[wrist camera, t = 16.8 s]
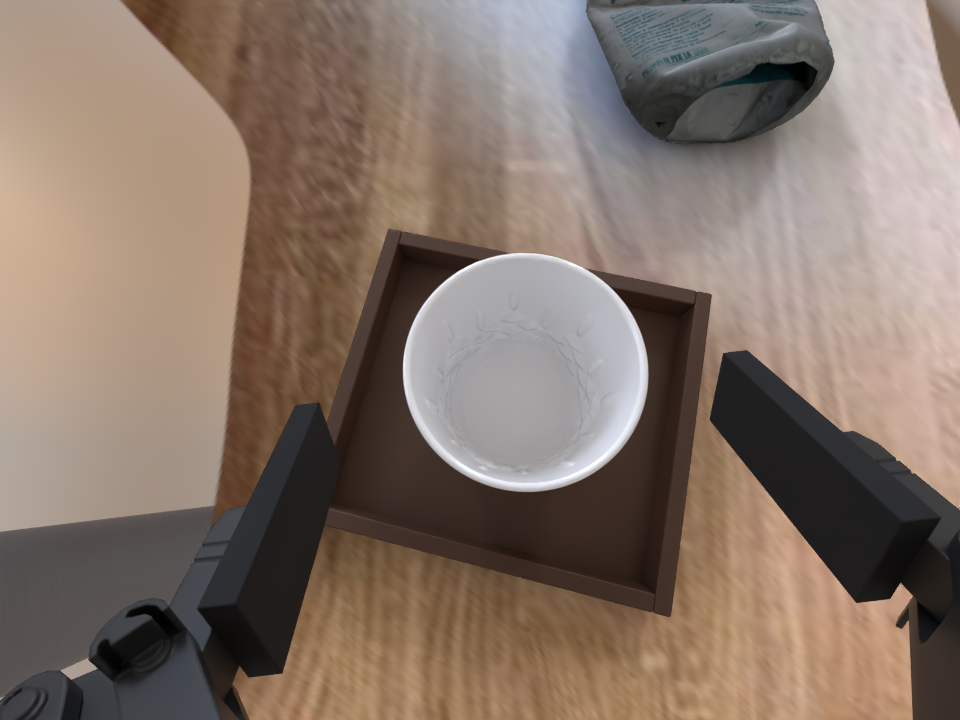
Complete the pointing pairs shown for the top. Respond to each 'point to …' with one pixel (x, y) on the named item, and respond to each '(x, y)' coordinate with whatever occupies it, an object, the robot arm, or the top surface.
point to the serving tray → (510, 514)
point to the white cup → (525, 372)
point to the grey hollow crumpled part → (713, 63)
